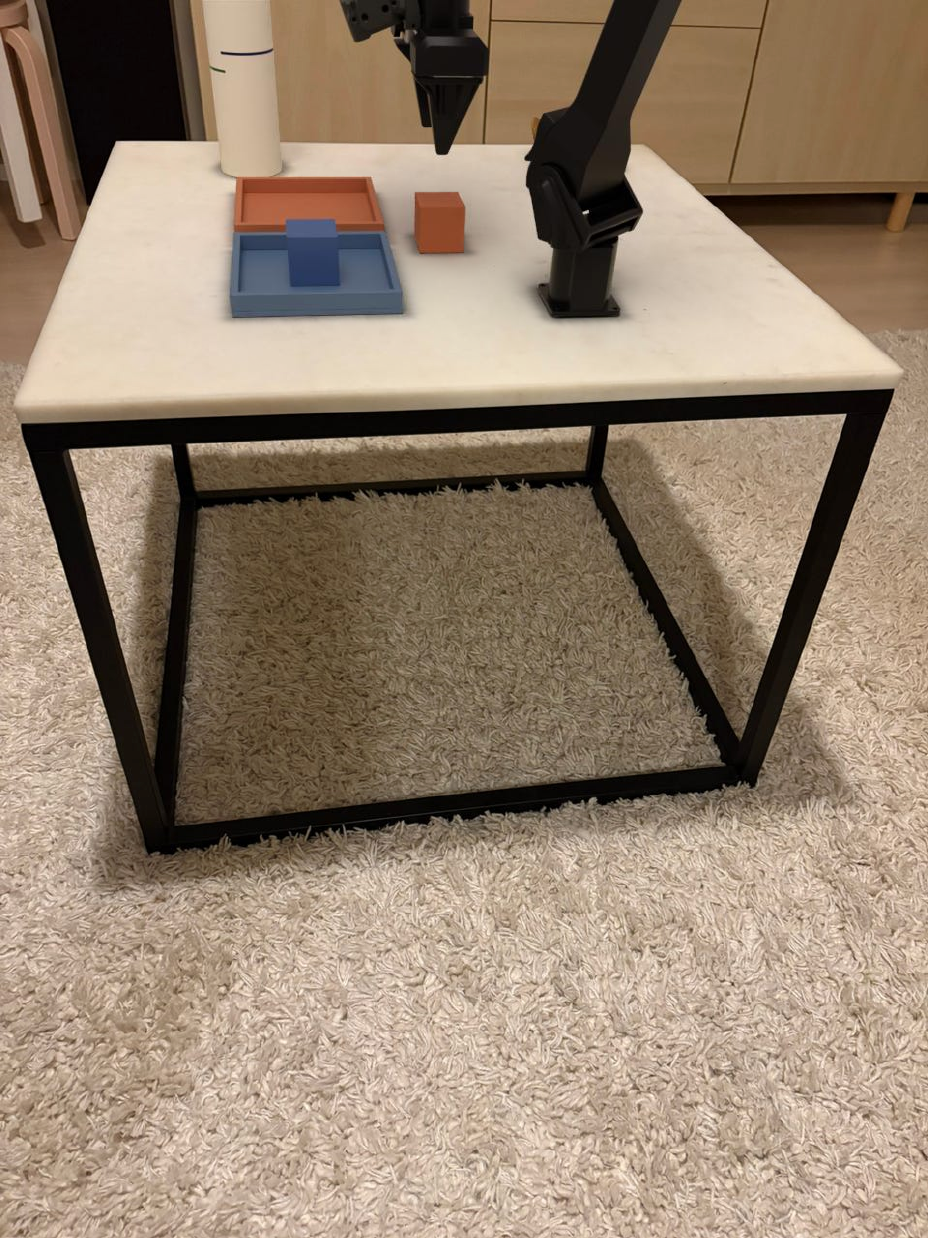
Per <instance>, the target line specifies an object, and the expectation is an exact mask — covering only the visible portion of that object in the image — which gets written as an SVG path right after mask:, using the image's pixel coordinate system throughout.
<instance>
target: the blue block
mask: <svg viewBox="0 0 928 1238" xmlns="http://www.w3.org/2000/svg"><path fill="white" fill-rule="evenodd" d="M286 234H287V248H288V261H289V274H290V286H339V285H340V277H339V252H338V235H337V229H336V223H335V219H286Z"/></svg>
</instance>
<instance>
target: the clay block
mask: <svg viewBox="0 0 928 1238" xmlns="http://www.w3.org/2000/svg"><path fill="white" fill-rule="evenodd" d="M413 215H414V220H413V221H414V222H413V224H414V225H413V226H414V227H413V230H414V231H413V237H414V240H415V243H416V246H417V249H418V252H419V253H420V254H444V253H445V254H447V253H448V254H450V253H451V254H452V253H453V254H455V253H464V249H465V248H464V245H465V226H466V225H465V224H466V206H465V204H464V201H463V199H462V197H461V194H460V192H459V191H414V213H413Z"/></svg>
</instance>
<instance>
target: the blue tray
mask: <svg viewBox="0 0 928 1238" xmlns="http://www.w3.org/2000/svg"><path fill="white" fill-rule="evenodd" d="M337 235H338V252H339V277H340V285H339V286H290V274H289V261H288V248H287V234H286V232H241V233H235V232H233V233H232V246H231V247H232V248H231V264H230V265H231V266H230V280H229V281H230V283H229V302H230V310H231V317H232V318H254V317H255V318H258V317H259V318H260V317H264V318H265V317H301V316H302V317H303V316H304V317H305V316H346V315H348V316H349V315H350V316H351V315H353V316H354V315H391V314H392V315H393V314H395V315H396V314H403V310H404V309H403V307H404V305H403V303H404V301H403V296H404V294H403V293H404V292H403V289H402V285H401V282H400V278H399V274H398V269H397V267H396V266H397V265H396V263H395V259H394V256H393V252H392V248H391V245H390V241H389V237H388V233H387V231H386V230H384V231H348V232H337Z"/></svg>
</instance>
